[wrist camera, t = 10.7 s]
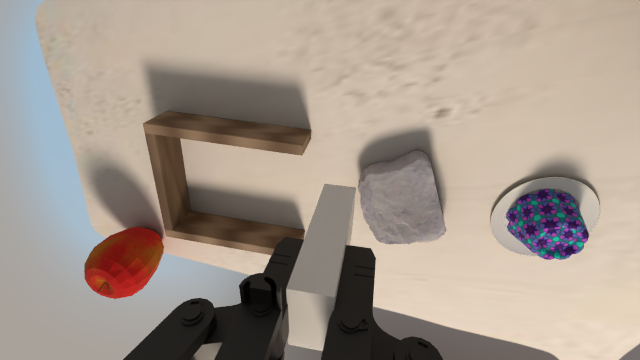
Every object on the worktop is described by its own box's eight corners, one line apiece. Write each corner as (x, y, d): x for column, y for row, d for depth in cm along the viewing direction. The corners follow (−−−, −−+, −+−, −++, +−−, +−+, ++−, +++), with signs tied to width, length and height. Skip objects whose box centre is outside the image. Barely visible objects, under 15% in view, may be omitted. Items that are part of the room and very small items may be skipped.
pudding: (473, 238, 44) (483, 266, 40) (516, 162, 38) (534, 184, 34) (560, 262, 44) (581, 292, 39) (619, 188, 38) (651, 214, 33)
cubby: (311, 130, 40) (302, 145, 36) (304, 236, 49) (296, 259, 44) (167, 110, 42) (142, 123, 38) (184, 216, 51) (166, 236, 46)
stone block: (379, 228, 48) (450, 223, 43) (372, 250, 44) (449, 247, 40) (355, 158, 44) (431, 143, 39) (344, 174, 40) (427, 161, 35)
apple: (154, 207, 51) (96, 260, 41) (187, 250, 54) (141, 308, 44) (114, 222, 54) (50, 274, 44) (147, 261, 57) (96, 319, 47)
